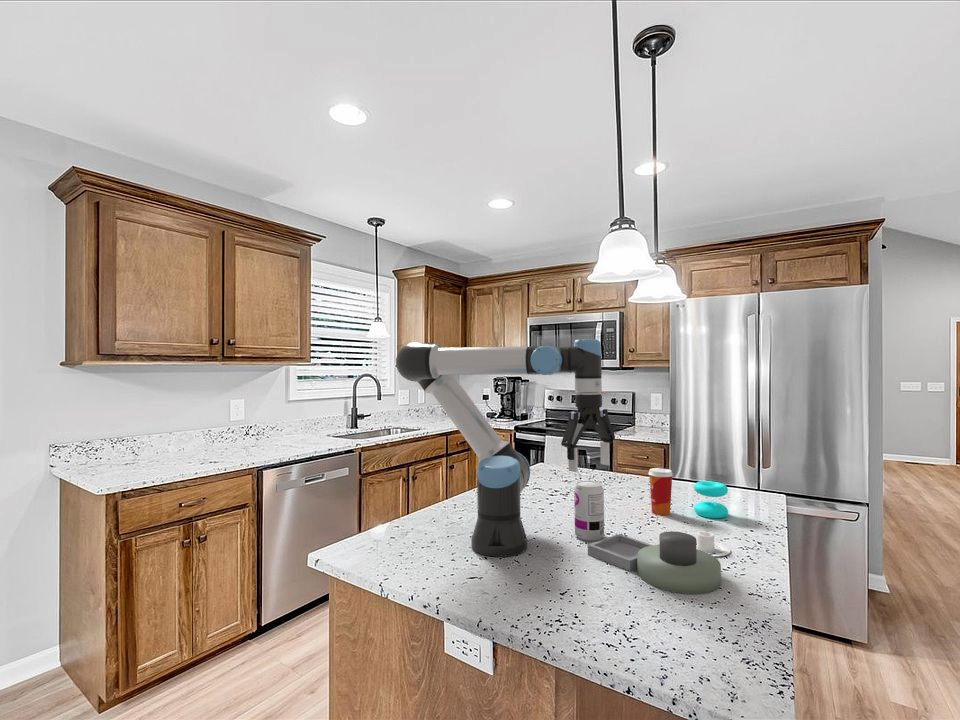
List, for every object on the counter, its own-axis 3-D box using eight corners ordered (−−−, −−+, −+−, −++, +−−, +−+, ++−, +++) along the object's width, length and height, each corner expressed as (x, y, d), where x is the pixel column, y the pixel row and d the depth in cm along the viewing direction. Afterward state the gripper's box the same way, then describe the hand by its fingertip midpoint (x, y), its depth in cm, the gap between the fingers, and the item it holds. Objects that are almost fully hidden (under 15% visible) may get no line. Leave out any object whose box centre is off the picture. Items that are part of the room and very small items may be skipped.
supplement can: (573, 540, 140) (572, 486, 140) (576, 530, 147) (576, 479, 147) (603, 543, 137) (602, 488, 137) (604, 532, 145) (604, 481, 145)
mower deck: (693, 602, 103) (693, 559, 103) (581, 556, 128) (580, 521, 128) (736, 579, 114) (735, 539, 114) (625, 540, 139) (624, 508, 139)
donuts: (732, 483, 161) (720, 489, 154) (733, 514, 161) (721, 521, 154) (701, 478, 168) (688, 483, 161) (701, 508, 168) (688, 514, 161)
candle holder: (691, 559, 127) (691, 542, 127) (673, 542, 139) (673, 526, 139) (739, 559, 126) (739, 541, 126) (717, 541, 138) (717, 526, 138)
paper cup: (653, 508, 169) (653, 466, 169) (676, 512, 164) (676, 469, 164) (644, 513, 163) (644, 470, 163) (668, 518, 158) (668, 474, 158)
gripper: (567, 396, 132) (569, 476, 132) (626, 391, 147) (627, 463, 147) (547, 395, 138) (548, 471, 138) (606, 390, 153) (607, 460, 153)
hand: (589, 467), depth 142 cm, fingers open, 13 cm apart
